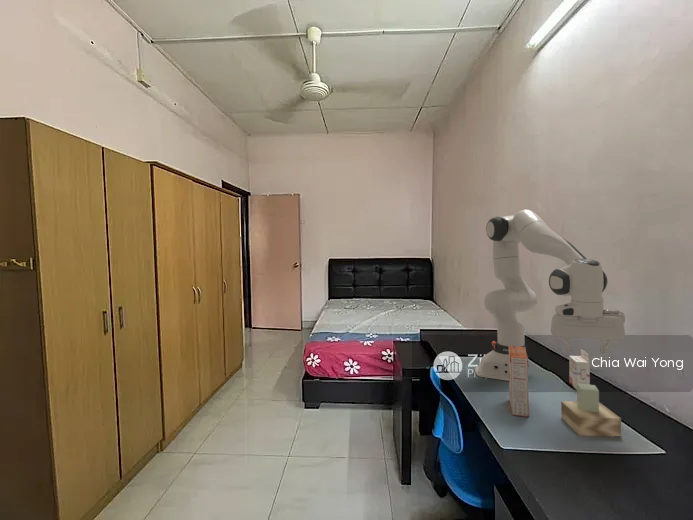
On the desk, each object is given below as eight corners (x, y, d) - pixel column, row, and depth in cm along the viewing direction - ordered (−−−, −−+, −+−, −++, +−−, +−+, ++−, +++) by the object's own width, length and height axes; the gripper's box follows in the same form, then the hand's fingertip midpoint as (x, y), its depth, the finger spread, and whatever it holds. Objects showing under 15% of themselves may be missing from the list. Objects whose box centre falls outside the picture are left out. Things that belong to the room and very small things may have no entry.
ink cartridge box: (568, 382, 158) (568, 348, 157) (581, 383, 157) (581, 348, 156) (576, 390, 150) (576, 354, 149) (590, 391, 149) (590, 354, 148)
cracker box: (508, 399, 143) (508, 345, 142) (525, 401, 141) (525, 346, 140) (510, 415, 130) (509, 356, 129) (529, 417, 128) (529, 357, 127)
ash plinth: (579, 436, 116) (579, 417, 115) (561, 418, 128) (561, 401, 127) (620, 437, 114) (621, 418, 114) (598, 419, 126) (599, 401, 126)
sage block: (580, 410, 120) (580, 389, 120) (577, 404, 125) (577, 383, 124) (599, 412, 118) (598, 390, 118) (594, 406, 123) (594, 385, 123)
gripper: (621, 308, 120) (620, 351, 121) (549, 306, 127) (549, 346, 128) (628, 312, 114) (628, 357, 115) (553, 309, 121) (553, 352, 122)
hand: (586, 351), depth 121 cm, fingers open, 8 cm apart
